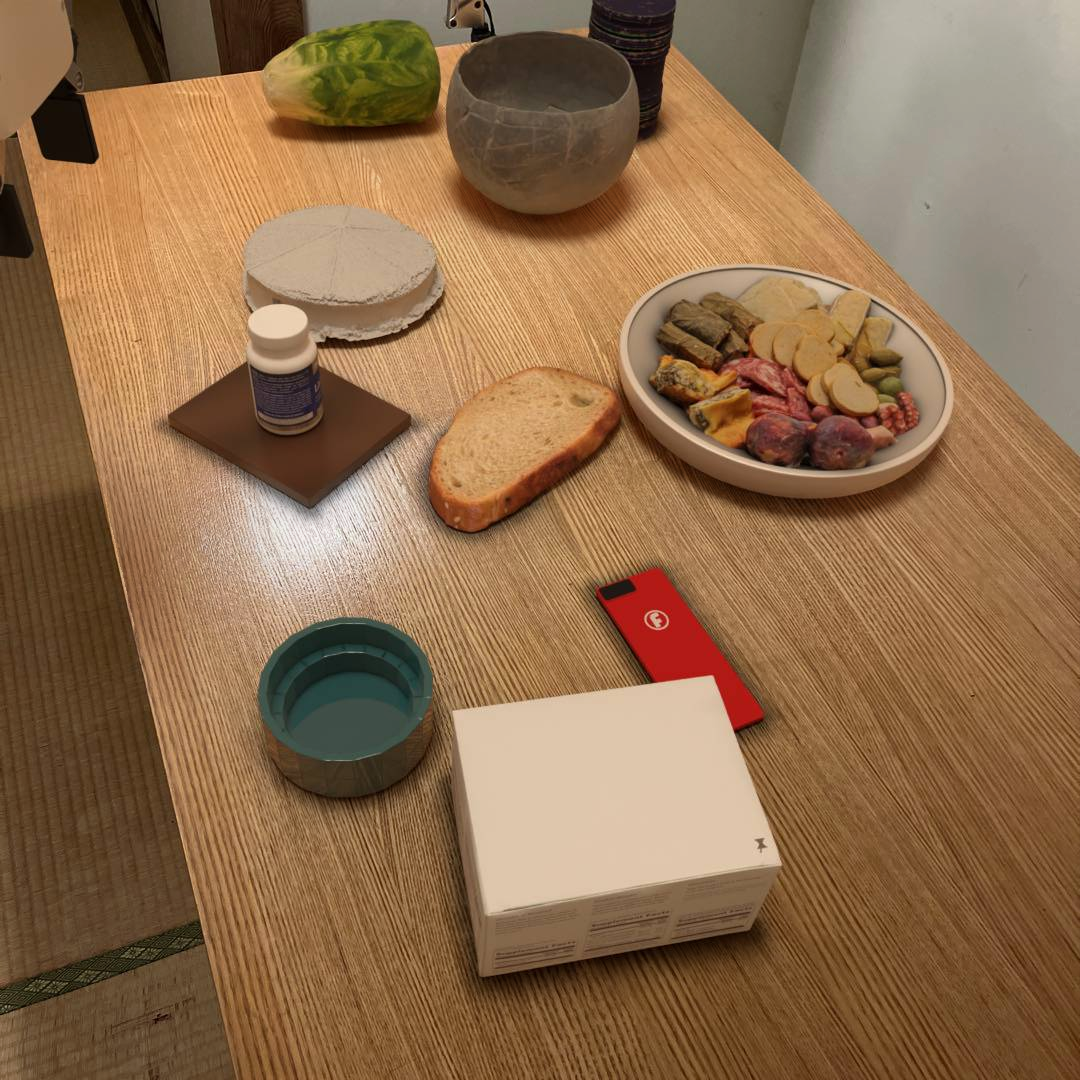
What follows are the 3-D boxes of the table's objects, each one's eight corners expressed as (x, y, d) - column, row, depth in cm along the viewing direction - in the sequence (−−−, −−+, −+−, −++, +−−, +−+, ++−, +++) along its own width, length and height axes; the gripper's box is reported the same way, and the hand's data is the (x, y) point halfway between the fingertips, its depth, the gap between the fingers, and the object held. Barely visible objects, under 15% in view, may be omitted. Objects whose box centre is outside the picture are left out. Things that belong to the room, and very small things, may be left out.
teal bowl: (231, 740, 72) (220, 699, 69) (342, 634, 79) (338, 591, 75) (359, 832, 69) (355, 793, 65) (465, 712, 75) (466, 671, 71)
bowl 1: (488, 135, 130) (493, 6, 119) (649, 177, 126) (670, 48, 115) (414, 217, 117) (412, 80, 105) (591, 267, 113) (608, 131, 101)
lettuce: (257, 110, 130) (245, 14, 121) (422, 92, 136) (421, -1, 127) (278, 157, 123) (266, 59, 114) (450, 136, 129) (451, 41, 120)
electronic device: (765, 719, 76) (658, 570, 85) (766, 714, 76) (659, 565, 85) (695, 747, 74) (593, 592, 83) (697, 743, 74) (594, 588, 83)
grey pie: (196, 305, 104) (184, 243, 98) (317, 212, 116) (311, 152, 111) (372, 376, 98) (369, 315, 93) (479, 271, 111) (481, 212, 106)
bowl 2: (575, 319, 106) (583, 250, 101) (848, 292, 113) (871, 226, 107) (674, 541, 87) (691, 472, 82) (996, 493, 94) (1033, 426, 88)
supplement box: (689, 748, 75) (716, 670, 68) (751, 933, 66) (788, 865, 59) (447, 782, 71) (448, 704, 64) (478, 981, 63) (484, 916, 56)
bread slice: (433, 536, 86) (433, 503, 83) (415, 389, 98) (414, 356, 95) (651, 521, 89) (658, 489, 86) (608, 380, 100) (612, 348, 98)
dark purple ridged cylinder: (658, 146, 131) (683, -8, 117) (577, 138, 131) (593, -17, 117) (656, 108, 138) (680, -43, 124) (580, 100, 137) (596, -51, 124)
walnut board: (169, 425, 92) (166, 414, 91) (276, 351, 100) (274, 341, 99) (310, 509, 87) (308, 498, 86) (411, 424, 94) (411, 414, 94)
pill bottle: (335, 424, 92) (326, 330, 85) (272, 446, 90) (257, 351, 82) (307, 386, 95) (296, 291, 88) (245, 405, 93) (229, 310, 85)
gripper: (-64, -210, 53) (33, 122, 66) (-267, -88, 41) (-102, 287, 54) (88, -194, 53) (155, 135, 66) (-72, -67, 41) (47, 303, 54)
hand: (39, 203), depth 60 cm, fingers open, 9 cm apart
